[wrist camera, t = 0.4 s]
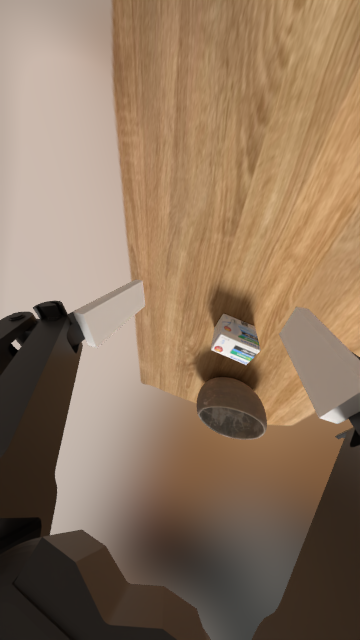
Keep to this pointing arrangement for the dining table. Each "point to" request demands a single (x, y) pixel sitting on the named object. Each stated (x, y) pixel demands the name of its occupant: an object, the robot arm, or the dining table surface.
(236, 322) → the light bulb box
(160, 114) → the dining table surface
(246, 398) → the bowl
